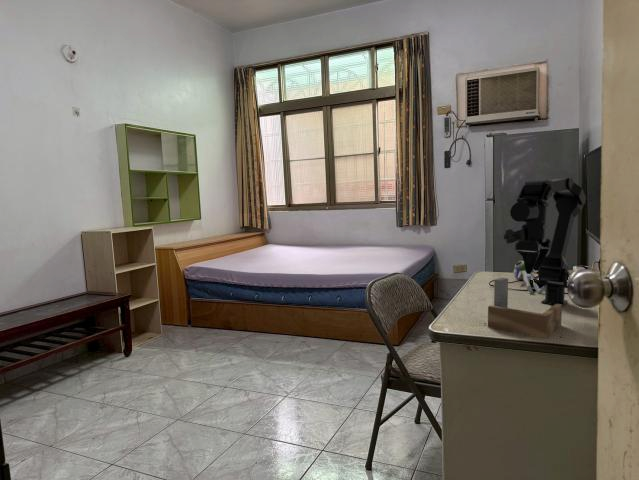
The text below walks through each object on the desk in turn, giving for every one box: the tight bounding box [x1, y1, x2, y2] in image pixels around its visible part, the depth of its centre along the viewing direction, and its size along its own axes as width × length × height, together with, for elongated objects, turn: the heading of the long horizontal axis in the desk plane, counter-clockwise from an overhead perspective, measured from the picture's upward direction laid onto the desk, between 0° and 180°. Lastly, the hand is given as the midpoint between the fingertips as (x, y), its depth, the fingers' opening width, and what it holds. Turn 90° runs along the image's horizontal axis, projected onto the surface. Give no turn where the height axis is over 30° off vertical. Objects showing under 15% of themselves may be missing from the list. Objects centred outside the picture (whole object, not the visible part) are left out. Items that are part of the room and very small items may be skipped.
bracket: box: [493, 277, 509, 308], centre depth 123 cm, size 4×8×12 cm, turn 37°
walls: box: [487, 304, 563, 339], centre depth 123 cm, size 14×15×6 cm
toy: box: [512, 259, 546, 294], centre depth 173 cm, size 10×8×30 cm
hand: (532, 272), depth 134 cm, fingers open, 9 cm apart
